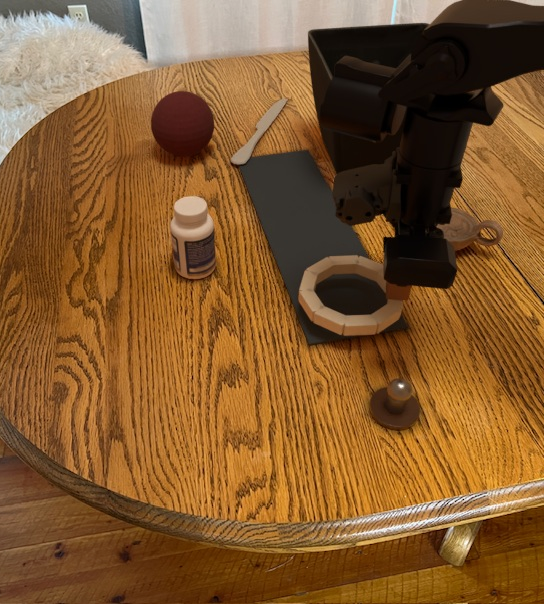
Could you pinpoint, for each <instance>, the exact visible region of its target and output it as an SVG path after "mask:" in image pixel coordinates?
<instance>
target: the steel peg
mask: <svg viewBox="0 0 544 604" xmlns="http://www.w3.org/2000/svg"><path fill="white" fill-rule="evenodd" d="M368 404H369V405H368V407H369V412H370V415H371V416H372V418H373V419H374V420H375V422H376V423H378V424H379V425H380V426H382V427H384V428H387V429H388V430H394V431H403V430H407V429H409V428H412V427H413V426H415V424H416V423H417V422H418V420H419V417H420V414H421V408H420V405H419V402H418V400H417V399H416V397H415V396H414V395H413V387H412V384H411V383H410V382H409V381H408V380H407V379H405V378H402V377H396V378H393V379H392V380H391V381H389V383H388V385H387V386H384V387H380V388H379V389H377V390H376V391H375V392H373V393H372V395H371V397H370V400H369V403H368Z"/></svg>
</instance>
